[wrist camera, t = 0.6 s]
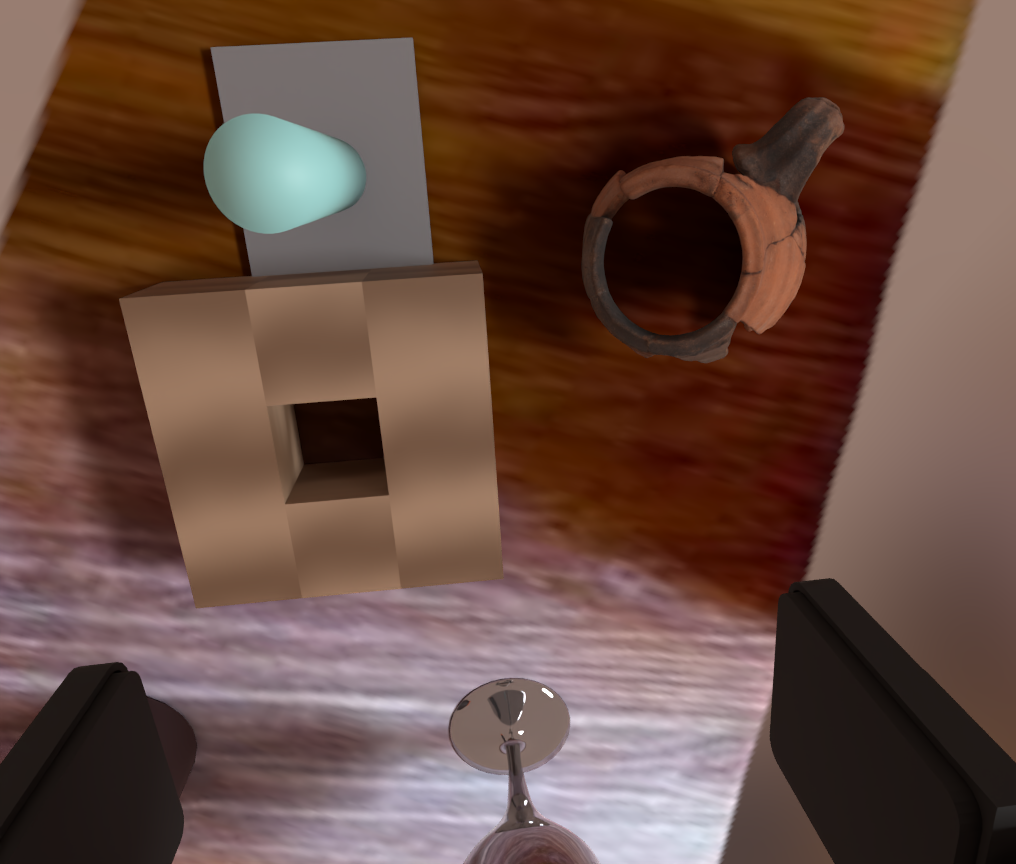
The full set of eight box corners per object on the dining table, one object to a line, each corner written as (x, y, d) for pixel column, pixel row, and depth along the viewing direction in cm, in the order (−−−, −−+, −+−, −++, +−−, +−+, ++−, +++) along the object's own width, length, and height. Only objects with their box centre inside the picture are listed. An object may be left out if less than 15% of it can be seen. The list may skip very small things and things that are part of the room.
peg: (288, 138, 29) (192, 116, 18) (361, 135, 29) (310, 110, 18) (300, 214, 30) (216, 237, 19) (370, 209, 30) (327, 230, 19)
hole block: (162, 281, 31) (118, 298, 27) (477, 260, 32) (482, 273, 28) (224, 557, 36) (196, 608, 32) (496, 532, 37) (503, 578, 33)
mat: (213, 49, 28) (210, 47, 28) (412, 39, 29) (412, 37, 28) (258, 298, 32) (256, 299, 31) (435, 285, 32) (435, 286, 32)
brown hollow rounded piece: (729, 376, 36) (696, 422, 29) (583, 268, 37) (517, 287, 30) (909, 158, 30) (922, 149, 23) (725, 41, 31) (684, -1, 24)
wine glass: (483, 798, 43) (502, 1099, 29) (417, 710, 40) (403, 996, 26) (599, 743, 42) (675, 1025, 28) (539, 650, 40) (592, 910, 26)
